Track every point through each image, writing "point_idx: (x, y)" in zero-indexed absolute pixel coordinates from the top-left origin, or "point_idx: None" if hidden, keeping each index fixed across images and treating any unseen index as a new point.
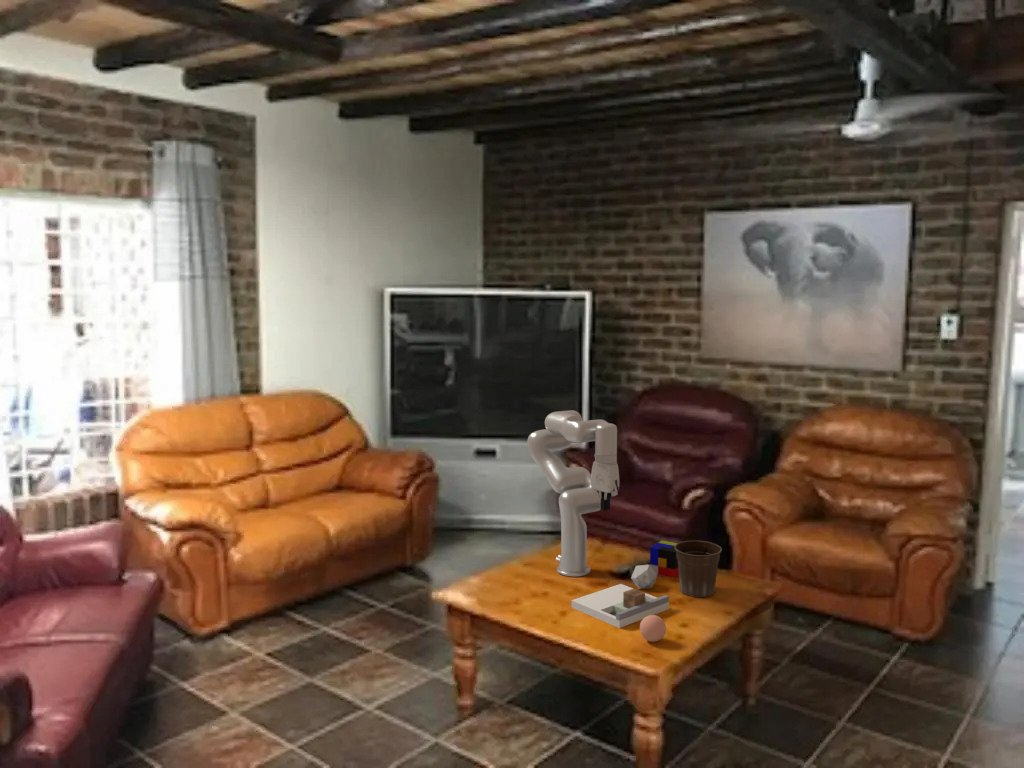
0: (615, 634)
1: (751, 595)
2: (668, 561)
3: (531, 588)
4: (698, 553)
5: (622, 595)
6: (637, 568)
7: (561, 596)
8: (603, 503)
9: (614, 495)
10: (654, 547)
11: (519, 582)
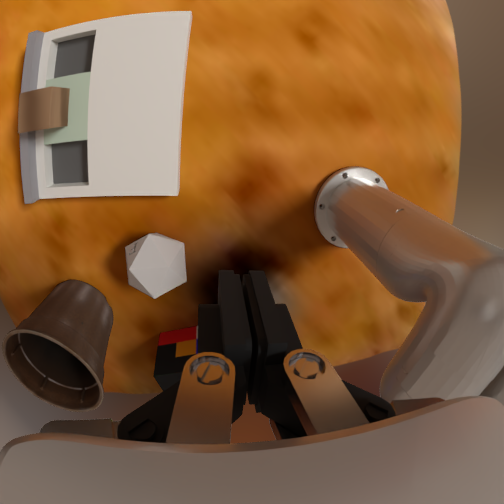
0: (36, 18)
1: None
2: (170, 354)
3: (353, 48)
4: (92, 383)
5: (115, 136)
6: (159, 260)
7: (263, 49)
8: (227, 312)
9: (56, 426)
10: None
11: (395, 65)
